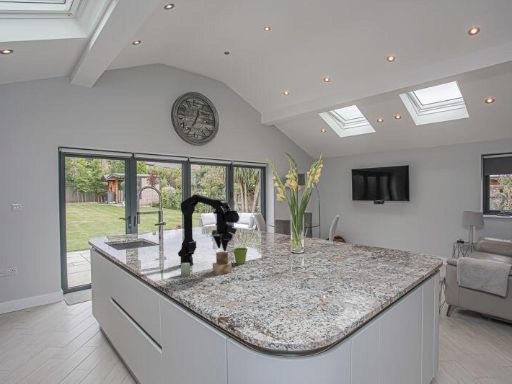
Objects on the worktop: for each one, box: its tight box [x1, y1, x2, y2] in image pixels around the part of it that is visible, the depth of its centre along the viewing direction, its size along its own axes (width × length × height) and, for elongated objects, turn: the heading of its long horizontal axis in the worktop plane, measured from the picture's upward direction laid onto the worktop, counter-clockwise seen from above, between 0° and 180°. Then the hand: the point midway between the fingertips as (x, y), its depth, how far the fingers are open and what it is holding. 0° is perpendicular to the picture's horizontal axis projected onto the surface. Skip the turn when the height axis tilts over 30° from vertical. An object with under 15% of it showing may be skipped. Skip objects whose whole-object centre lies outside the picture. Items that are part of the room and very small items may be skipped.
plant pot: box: [232, 247, 249, 265], centre depth 184 cm, size 9×9×9 cm
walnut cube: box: [215, 250, 229, 265], centre depth 166 cm, size 5×5×6 cm
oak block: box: [212, 261, 233, 276], centre depth 166 cm, size 8×8×5 cm
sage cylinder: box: [180, 263, 191, 277], centre depth 161 cm, size 5×5×6 cm
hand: (222, 249), depth 167 cm, fingers open, 9 cm apart
